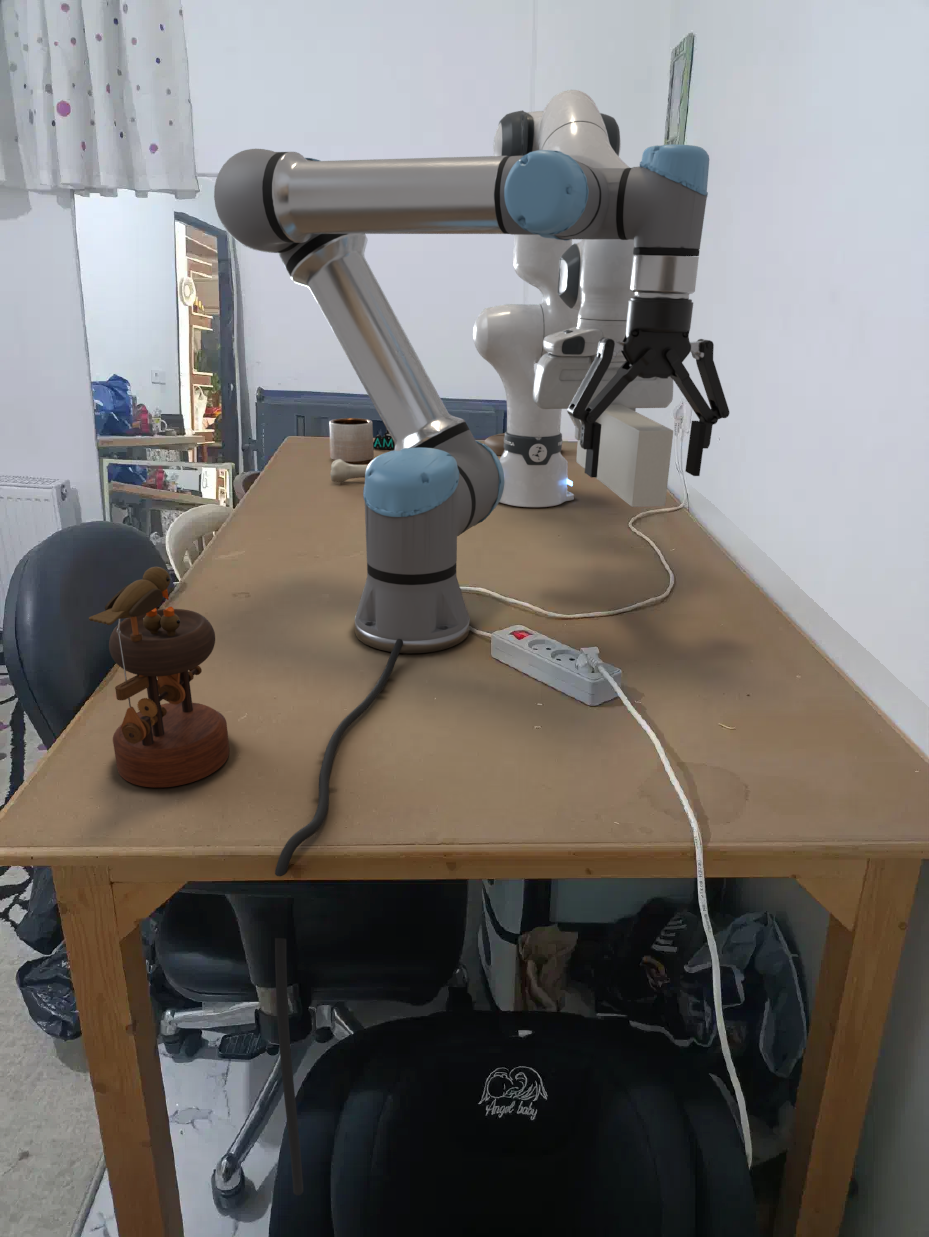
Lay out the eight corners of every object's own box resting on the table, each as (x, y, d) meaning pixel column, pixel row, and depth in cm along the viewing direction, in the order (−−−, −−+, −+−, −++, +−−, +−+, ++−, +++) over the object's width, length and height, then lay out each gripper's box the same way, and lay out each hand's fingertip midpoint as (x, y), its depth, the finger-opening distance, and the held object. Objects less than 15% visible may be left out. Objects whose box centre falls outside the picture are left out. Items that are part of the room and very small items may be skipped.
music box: (204, 802, 76) (158, 593, 68) (89, 801, 77) (32, 596, 70) (260, 719, 90) (227, 538, 82) (162, 719, 91) (122, 542, 84)
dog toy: (417, 477, 197) (417, 456, 195) (420, 483, 191) (420, 461, 189) (330, 479, 194) (329, 457, 192) (330, 485, 188) (329, 463, 186)
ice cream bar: (489, 466, 209) (490, 449, 208) (482, 444, 235) (482, 429, 234) (574, 466, 210) (575, 449, 209) (557, 445, 236) (558, 430, 234)
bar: (665, 506, 107) (673, 430, 103) (631, 507, 106) (639, 431, 103) (603, 461, 130) (608, 398, 126) (576, 462, 129) (580, 398, 125)
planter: (327, 456, 217) (325, 418, 214) (369, 454, 220) (368, 417, 217) (334, 465, 208) (332, 425, 204) (377, 463, 211) (376, 424, 207)
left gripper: (745, 297, 105) (720, 466, 113) (550, 292, 101) (539, 468, 109) (775, 299, 98) (747, 480, 106) (567, 294, 94) (554, 482, 102)
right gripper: (669, 338, 123) (658, 433, 129) (532, 338, 120) (528, 435, 126) (686, 343, 118) (674, 442, 123) (543, 342, 114) (538, 444, 120)
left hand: (641, 474), depth 108 cm, fingers open, 13 cm apart
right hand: (599, 439), depth 124 cm, fingers closed on bar, 4 cm apart
